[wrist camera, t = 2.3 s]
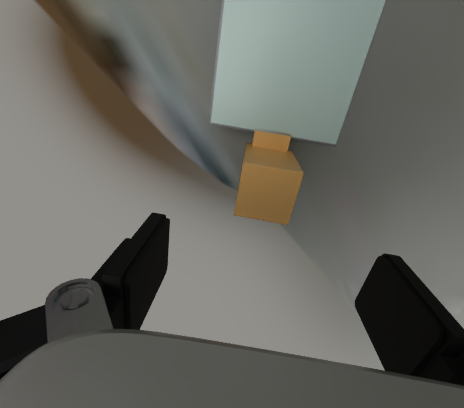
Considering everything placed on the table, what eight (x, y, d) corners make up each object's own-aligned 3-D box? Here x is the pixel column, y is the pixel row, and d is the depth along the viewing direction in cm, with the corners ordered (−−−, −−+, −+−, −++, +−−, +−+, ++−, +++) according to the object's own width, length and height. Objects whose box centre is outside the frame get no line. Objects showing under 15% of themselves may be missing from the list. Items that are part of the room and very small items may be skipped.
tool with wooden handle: (244, -146, 15) (237, -309, 9) (416, -117, 15) (531, -262, 9) (206, 176, 24) (190, 207, 18) (312, 195, 24) (331, 232, 18)
